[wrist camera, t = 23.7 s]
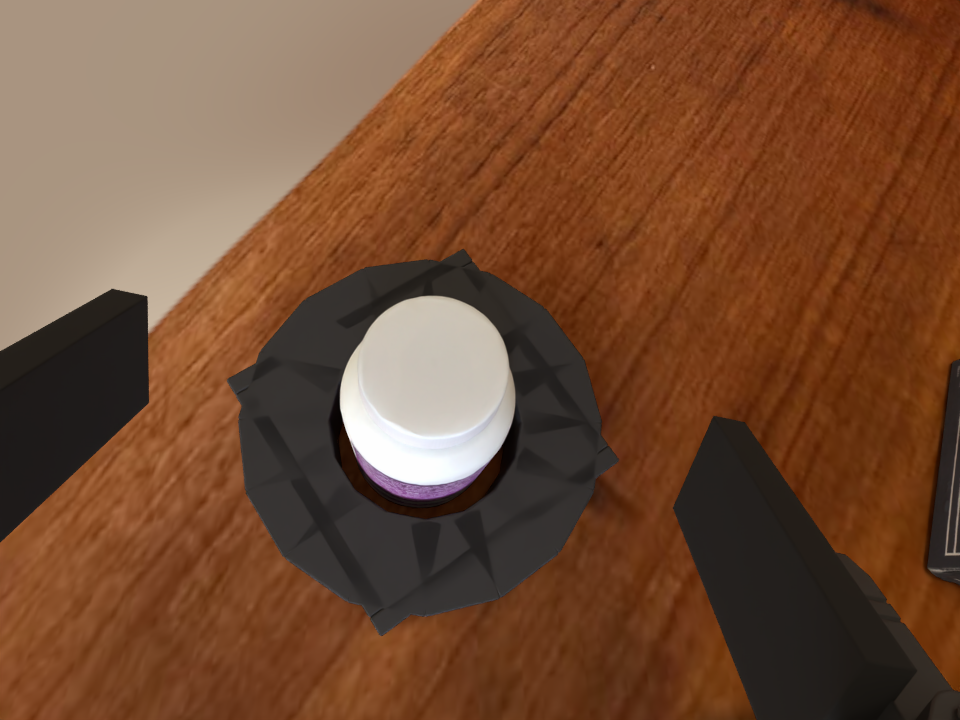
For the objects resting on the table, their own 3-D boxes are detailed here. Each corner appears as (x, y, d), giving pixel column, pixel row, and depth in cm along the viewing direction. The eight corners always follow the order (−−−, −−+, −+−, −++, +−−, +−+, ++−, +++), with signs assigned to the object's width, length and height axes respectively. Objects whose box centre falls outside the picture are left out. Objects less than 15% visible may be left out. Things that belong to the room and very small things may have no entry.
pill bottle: (509, 470, 25) (574, 412, 16) (389, 533, 24) (386, 508, 15) (448, 357, 26) (477, 243, 17) (331, 410, 25) (296, 317, 16)
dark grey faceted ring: (202, 395, 24) (172, 368, 21) (463, 251, 28) (472, 209, 25) (371, 682, 22) (367, 701, 19) (633, 483, 26) (668, 470, 22)
